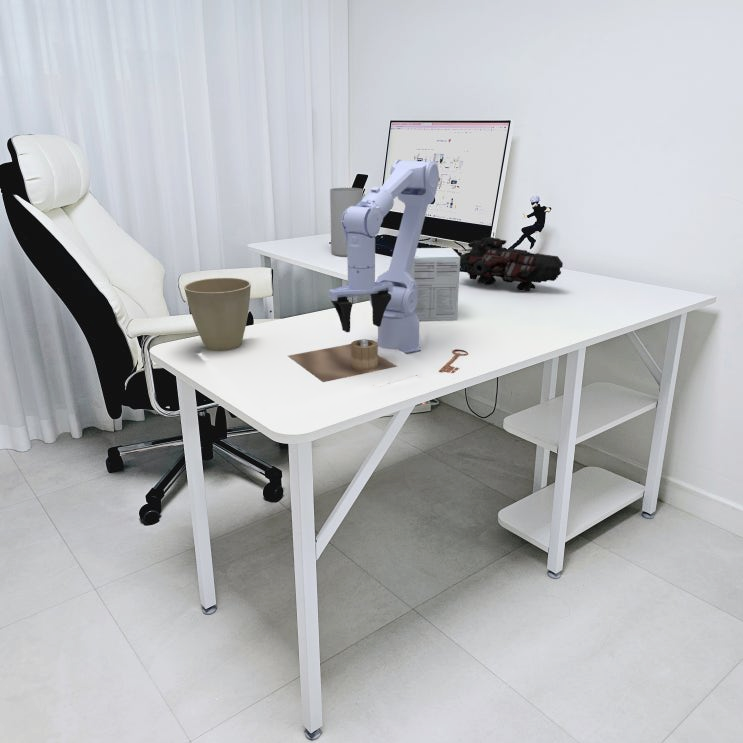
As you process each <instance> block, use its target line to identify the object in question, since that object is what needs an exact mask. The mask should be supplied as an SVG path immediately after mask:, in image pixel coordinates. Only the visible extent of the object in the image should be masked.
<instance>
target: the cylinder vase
mask: <svg viewBox="0 0 743 743" xmlns="http://www.w3.org/2000/svg"><path fill="white" fill-rule="evenodd" d="M363 198H364V197H363V188H358V187H334V188H330V189H329V200H330V202H329V203H330V204H329V205H330V251H331V254H332V255H333V256H335V257H341V258H342V257H347V243H345V240H344V232H343V230H342V227H341V221H342V216H343V213H344V211H345V210H346V209H348V208H349V207H350V206H356V205H357V204H358V203H359V202H360V201H361V200H362V199H363Z"/></svg>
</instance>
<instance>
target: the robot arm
mask: <svg viewBox="0 0 743 743" xmlns="http://www.w3.org/2000/svg"><path fill="white" fill-rule="evenodd" d="M390 167H391V168H390V172H389V173H390V175H389V176H388V178H387V179H386V180H385V182H384V183H383V184H382V186H373V187H372V188H371V189H370V191H369V192H368V193H367V194H366V195H365V196H364V197H363V199H362V200H361V201H360V202H359V203H358V204H357V205H356V206H350V207H349V208H348V209H346V210H345V211H344V213H343V216H342V221H341V227H342V230H343V232H344V240H345V243H347V259H346V260H347V261H346V262H347V285H344V286H343V285H342V286H339V287H336V288H333V289H328V299H329V300H331V303H332V305H333V306H334V308H335V311H336V313H337V316H338V318H339V321H340V325H341V329H342V331H343V332H345V333H350V332H351V315H352V314H351V313H352V307H353V302H350V301H349V299H348V298H354V297H361V296H367V295H370V296H369V302H370V305H371V308H372V324H373V326H376V327H377V344H378V347H380V348H382V349H386V350H387V349H388V350H398V351H400V352H402V353H404V354H408V353H409V354H410V353H413V352H418V351H421V347H420V326H421V325H420V321H419V319H418V316H417V315H416V313H415V312H413V311H414V310H415V308H416V305H417V293H418V285H417V283H416V281H415V280H414V279H413V278H412V277H411V276H410V273H411V269H412V265H413V261H414V257H415V253H416V250H417V248H418V245H419V241H420V238H421V234H422V230H423V225H424V222H425V218H426V214H427V210H428V207H429V206H428V205H430V204H432V203H433V202H434V200H435V197H436V195H437V194H436V193H437V189H438V186H439V182H440V173H439V167H438V164H437V163H436V162H435V161H433V160H429V161H421V160H402V159H396V160H395V161H394V162H393V164H391V166H390ZM396 197H397V199H398V201H400V202H402V203H403V204H404V210H403V214H402V217H401V222H400V225H399V229H398V234H397V237H396V242H395V245H394V249H393V253H392V257H391V260H390V264H389V267H388V270H386V271H385V272H383V273H380V274H379V275H378V276H377V279H376V236H377V235H378V234H379V232H380V229H381V226H382V224H383V221H384V218H385V217H386V216H387V214H389V212H390V211H391V210H392V209H393V208H394V202H395V200H394V199H396Z"/></svg>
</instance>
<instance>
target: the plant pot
mask: <svg viewBox="0 0 743 743" xmlns="http://www.w3.org/2000/svg"><path fill="white" fill-rule="evenodd" d="M251 286H252V283H251V281H249V280H247V279H244V278H239V277H214V278H213V277H212V278H203V279H199V280H194V281H191V282H188V283H185V285H184V287H183V288H184V293H185V296H186V300H187V303H188V304H187V305H188V307H189V312H190V314H191V316H192V320H193V322H194V325H195V328H196V330H197V333H198V335H199V337H200V339H201V341H202V343H203V345H204V347H205V348H206V349H208V350H211V351H217V352H218V351H220V352H221V351H228V350H229V351H230V350H234V349H237V348H239V347H240V346H241V345H242V342H243V338H244V335H245V330H246V327H247V321H248V315H249V311H250V303H251V302H250V300H251V288H252V287H251Z"/></svg>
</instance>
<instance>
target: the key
mask: <svg viewBox="0 0 743 743" xmlns="http://www.w3.org/2000/svg"><path fill="white" fill-rule="evenodd" d="M451 353H452V354H453V355H454V356H452V358H450V360H448V362H446V364H445V365H443V366H442V367H441V368H440V369H439V371H438V373H448V374H454V373H456V371H458V370H460V368H461V367H457V366H456V367H455V366H452V365H451V364H453V363H454V362H455V361H456V360H457V359H458V358H459V357H460V356H461V357H463V356H468V355H469V353H468V352H467V351H466V350H464V349H460V348H459V349H453V350H452V351H451Z"/></svg>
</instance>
